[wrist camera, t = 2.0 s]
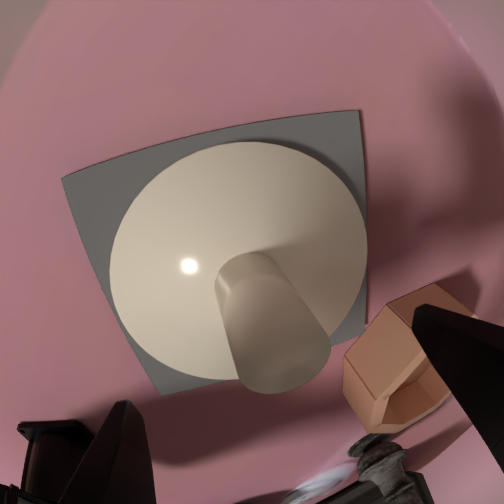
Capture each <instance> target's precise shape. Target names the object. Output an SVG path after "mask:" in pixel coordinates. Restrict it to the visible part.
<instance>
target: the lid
mask: <svg viewBox="0 0 504 504" xmlns="http://www.w3.org/2000/svg"><path fill="white" fill-rule="evenodd" d="M366 263H367V235H366V230H365V225H364V221H363V218H362V215H361V212H360V210H359V207H358V205H357V203H356V201H355V199H354V198H353V196H352V194H351V192H350V191H349V190H348V188H347V187H346V186H345V184H344V183H343V182H342V181H341V180H340V179H339V178H338V177H337V176H336V175H335V174H334V173H333V172H332V171H331V170H330V169H329V168H327V167H326V166H324V165H323V164H322V163H320V162H319V161H317V160H316V159H314V158H312V157H310V156H308V155H306V154H304V153H302V152H300V151H297V150H294V149H290V148H287V147H284V146H280V145H276V144H270V143H263V142H256V141H236V142H229V143H223V144H216V145H213V146H210V147H206V148H203V149H200V150H197V151H195V152H193V153H190V154H188V155H186V156H184V157H182V158H180V159H178V160H177V161H175V162H174V163H172V164H170V165H169V166H167V167H166V168H164V169H163V170H162V171H161V172H159V173H158V174H157V175H156V176H155V177H154V178H153V179H152V180H150V181H149V182H148V183H147V184H146V186H145V187H144V188H143V189H142V190H141V191H140V193H139V194H138V195H137V196H136V198H135V199H134V201H133V202H132V204H131V206H130V207H129V209H128V210H127V212H126V214H125V216H124V218H123V220H122V222H121V224H120V227H119V229H118V231H117V234H116V236H115V240H114V244H113V248H112V252H111V259H110V272H109V273H110V286H111V292H112V296H113V301H114V305H115V307H116V310H117V312H118V315H119V317H120V319H121V321H122V323H123V324H124V326H125V328H126V329H127V331H128V332H129V334H130V335H131V336H132V337H133V339H134V340H135V341H136V342H137V344H139V345H140V346H141V347H142V348H143V349H144V350H145V351H146V352H147V353H148V354H150V355H151V356H152V357H154V358H155V359H157V360H158V361H159V362H161V363H163V364H165V365H167V366H169V367H171V368H173V369H175V370H178V371H180V372H183V373H185V374H189V375H193V376H197V377H202V378H208V379H220V380H232V379H239V380H240V381H241V383H242V384H243V385H244V386H245V387H246V388H248V389H249V390H252V391H254V392H257V393H262V394H277V393H283V392H287V391H290V390H293V389H295V388H298V387H300V386H302V385H303V384H305V383H307V382H308V381H310V380H311V379H312V378H314V377H315V376H316V375H317V374H318V373H319V372H320V371H321V370H322V368H323V367H324V365H325V364H326V362H327V360H328V358H329V356H330V352H331V341H330V338H329V336H330V335H331V334H332V333H333V332H334V331H335V330H336V329H337V328H338V326H339V325H340V324H341V322H342V321H343V320H344V318H345V317H346V316H347V314H348V312H349V311H350V309H351V307H352V306H353V304H354V302H355V300H356V297H357V295H358V293H359V291H360V288H361V285H362V281H363V278H364V274H365V269H366Z"/></svg>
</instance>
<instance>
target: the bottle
mask: <svg viewBox="0 0 504 504" xmlns="http://www.w3.org/2000/svg"><path fill="white" fill-rule="evenodd" d="M404 472H405V474H406V475H407V477H408V479H409V480H410V482H412V483H413V482H415V484H414V486H413V488H414V489H415V491H416V493H417V494H418V496H419V497H420V499H421V501H422V502H423V504H434V501H433V499H432V496H431V494H430V491H429V489H428V487H427V484H426V481H425V479H424V476H423V475H422V473H418V472H412V471H406V470H404ZM384 499H385V497H384V495H383V494H382V492H381V490H380V488H379V487H378V486H377V485H376V484H375V483H374V482H373V481H370V480H367V481H362V482H361V481H359V482H357V483H356V484H354V485H352V486H351V487H349V488H347V489H346V490H344V491H342V492H340V493H338V494H337V495H335V496H333V497H331V498H329V499H327V500H325V501H324V502H322V503H320V504H389V502H383V501H384Z"/></svg>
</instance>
